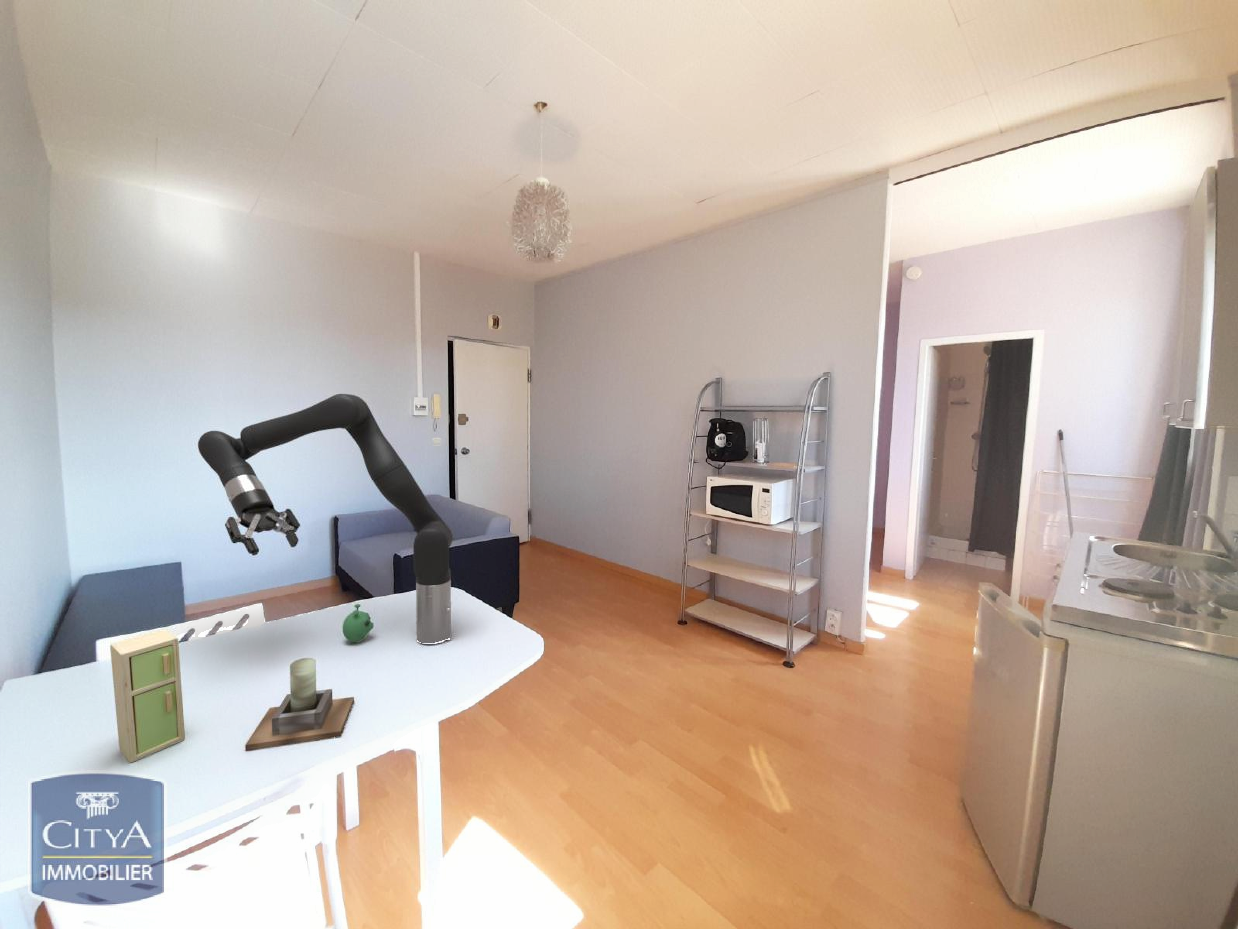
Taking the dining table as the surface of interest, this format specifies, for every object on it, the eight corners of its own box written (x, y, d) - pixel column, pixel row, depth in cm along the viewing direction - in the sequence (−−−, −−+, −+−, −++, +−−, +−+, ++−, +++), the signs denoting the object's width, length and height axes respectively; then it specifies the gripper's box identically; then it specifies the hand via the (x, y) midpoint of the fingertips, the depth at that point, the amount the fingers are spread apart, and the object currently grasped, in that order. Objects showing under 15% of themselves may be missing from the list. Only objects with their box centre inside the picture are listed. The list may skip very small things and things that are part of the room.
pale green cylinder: (319, 710, 101) (318, 656, 100) (312, 723, 97) (311, 667, 96) (295, 713, 100) (294, 659, 99) (287, 727, 96) (286, 670, 95)
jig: (354, 701, 107) (353, 682, 106) (340, 736, 95) (340, 714, 95) (269, 713, 102) (269, 692, 101) (245, 751, 90) (244, 727, 90)
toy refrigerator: (129, 766, 86) (121, 655, 83) (117, 750, 89) (109, 643, 87) (187, 741, 92) (181, 638, 90) (173, 727, 96) (167, 627, 94)
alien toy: (372, 644, 133) (372, 610, 132) (341, 648, 130) (340, 613, 129) (374, 633, 139) (374, 600, 138) (344, 637, 136) (344, 603, 135)
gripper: (219, 491, 112) (248, 547, 108) (285, 484, 124) (312, 534, 120) (209, 510, 114) (236, 565, 110) (274, 502, 127) (301, 551, 123)
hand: (276, 549), depth 115 cm, fingers open, 8 cm apart
